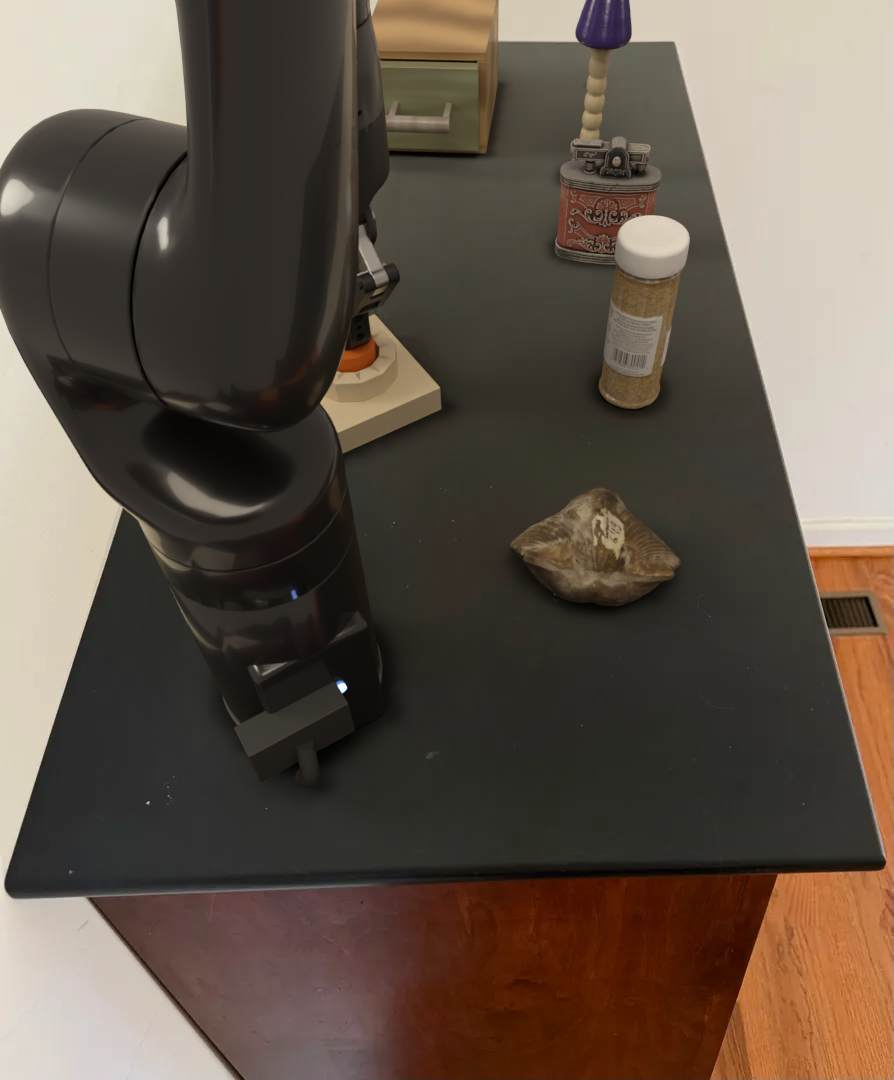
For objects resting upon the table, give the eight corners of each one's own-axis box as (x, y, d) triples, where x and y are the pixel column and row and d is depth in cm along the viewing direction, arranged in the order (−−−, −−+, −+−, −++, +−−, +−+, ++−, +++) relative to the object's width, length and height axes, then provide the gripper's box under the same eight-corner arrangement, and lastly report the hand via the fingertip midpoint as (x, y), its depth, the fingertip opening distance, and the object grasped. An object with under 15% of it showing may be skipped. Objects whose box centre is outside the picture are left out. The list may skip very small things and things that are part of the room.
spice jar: (670, 387, 68) (705, 229, 57) (636, 421, 66) (665, 263, 55) (619, 361, 70) (644, 203, 59) (584, 393, 68) (603, 235, 57)
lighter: (649, 244, 79) (667, 132, 71) (647, 267, 77) (666, 155, 69) (556, 237, 80) (564, 127, 72) (552, 260, 78) (560, 149, 70)
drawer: (474, 175, 85) (473, 91, 79) (364, 171, 86) (355, 88, 80) (490, 88, 95) (490, 8, 89) (392, 85, 96) (385, 6, 90)
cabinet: (485, 153, 89) (486, 52, 81) (369, 150, 90) (358, 49, 82) (497, 86, 97) (498, -12, 89) (390, 83, 98) (382, -14, 90)
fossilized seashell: (489, 580, 55) (644, 652, 53) (529, 484, 52) (694, 557, 50) (518, 539, 61) (656, 601, 60) (554, 452, 59) (700, 515, 57)
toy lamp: (609, 163, 87) (632, -30, 74) (617, 190, 84) (642, -5, 71) (559, 166, 87) (573, -26, 74) (566, 193, 84) (581, -2, 71)
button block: (441, 409, 67) (439, 368, 64) (333, 458, 65) (325, 418, 61) (377, 335, 73) (372, 294, 69) (275, 378, 70) (265, 337, 67)
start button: (385, 365, 66) (383, 346, 64) (341, 384, 65) (337, 365, 63) (362, 338, 68) (359, 319, 66) (318, 356, 67) (315, 337, 65)
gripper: (433, 132, 48) (445, 375, 62) (325, 38, 56) (358, 275, 69) (306, 175, 46) (348, 417, 60) (211, 72, 53) (268, 310, 67)
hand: (353, 341), depth 65 cm, fingers closed
